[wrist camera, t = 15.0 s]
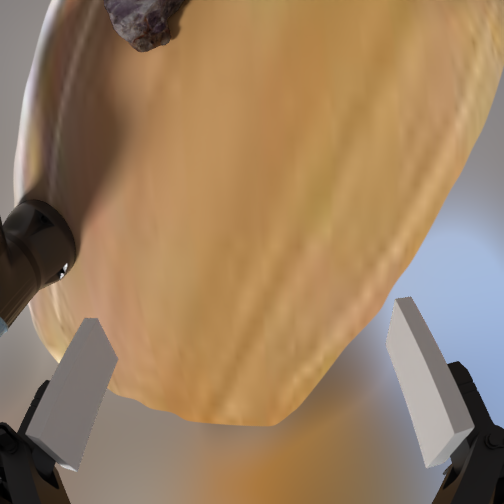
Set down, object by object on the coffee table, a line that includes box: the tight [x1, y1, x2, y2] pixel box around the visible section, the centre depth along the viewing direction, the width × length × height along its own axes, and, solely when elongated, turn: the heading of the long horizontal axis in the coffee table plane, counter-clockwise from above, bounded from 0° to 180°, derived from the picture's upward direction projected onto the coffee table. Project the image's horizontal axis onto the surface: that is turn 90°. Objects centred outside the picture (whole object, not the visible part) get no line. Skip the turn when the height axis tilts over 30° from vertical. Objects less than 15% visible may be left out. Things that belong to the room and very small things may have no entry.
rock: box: [104, 0, 184, 52], centre depth 27 cm, size 12×9×10 cm
